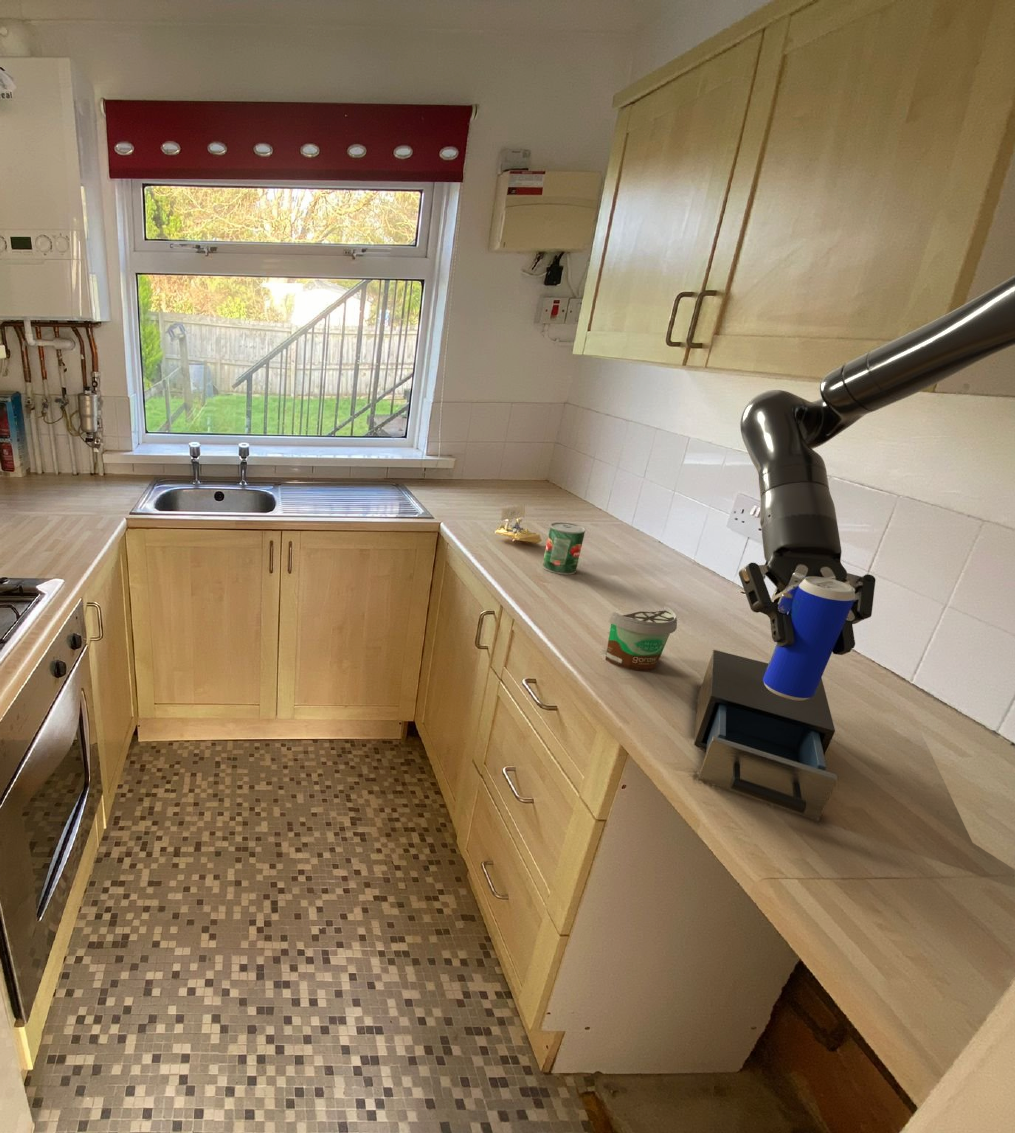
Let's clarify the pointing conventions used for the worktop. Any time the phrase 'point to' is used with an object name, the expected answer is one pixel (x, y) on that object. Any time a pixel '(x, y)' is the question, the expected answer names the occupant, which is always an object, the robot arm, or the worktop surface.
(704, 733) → the cabinet
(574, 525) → the canned tomato
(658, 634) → the food container
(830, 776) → the drawer
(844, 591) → the beverage can
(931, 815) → the worktop surface
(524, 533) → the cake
